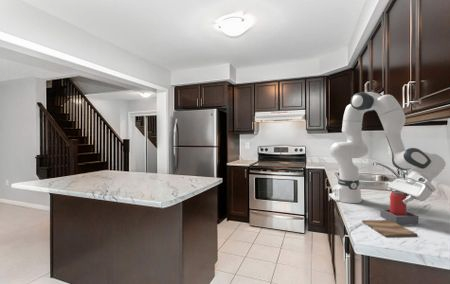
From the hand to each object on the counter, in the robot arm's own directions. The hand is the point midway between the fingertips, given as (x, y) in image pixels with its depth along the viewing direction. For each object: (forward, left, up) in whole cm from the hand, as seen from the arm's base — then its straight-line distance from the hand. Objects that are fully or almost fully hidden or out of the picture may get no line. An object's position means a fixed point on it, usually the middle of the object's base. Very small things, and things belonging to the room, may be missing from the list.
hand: (396, 200), depth 115 cm
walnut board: (+10, -12, -10) cm, 19 cm away
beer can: (0, +1, -8) cm, 8 cm away
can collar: (0, +1, -10) cm, 10 cm away
